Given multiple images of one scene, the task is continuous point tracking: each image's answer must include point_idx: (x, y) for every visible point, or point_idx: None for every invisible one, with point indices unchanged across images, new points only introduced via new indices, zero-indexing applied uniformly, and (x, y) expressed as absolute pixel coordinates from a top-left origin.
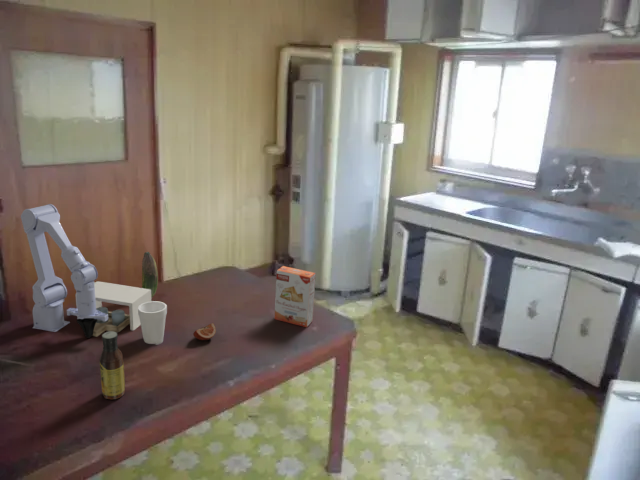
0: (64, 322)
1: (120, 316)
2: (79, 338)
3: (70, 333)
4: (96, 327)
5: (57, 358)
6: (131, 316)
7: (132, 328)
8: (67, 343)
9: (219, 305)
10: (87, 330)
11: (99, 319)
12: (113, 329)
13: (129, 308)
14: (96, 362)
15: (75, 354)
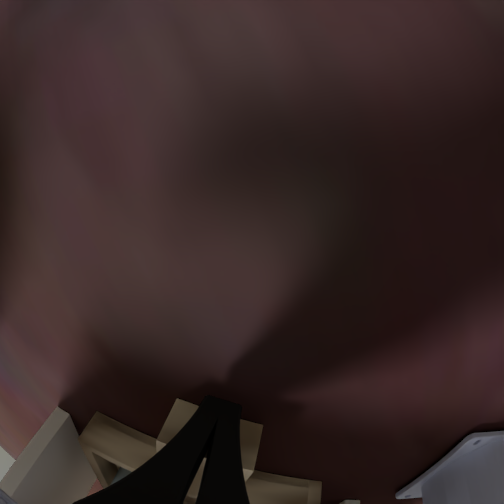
0: (420, 492)
1: None
2: (310, 406)
3: (387, 444)
4: (195, 477)
5: (394, 25)
6: (20, 465)
7: (52, 420)
8: (394, 338)
9: (17, 445)
10: (177, 456)
11: (11, 502)
12: (111, 441)
13: None
14: (33, 47)
15: (230, 111)
